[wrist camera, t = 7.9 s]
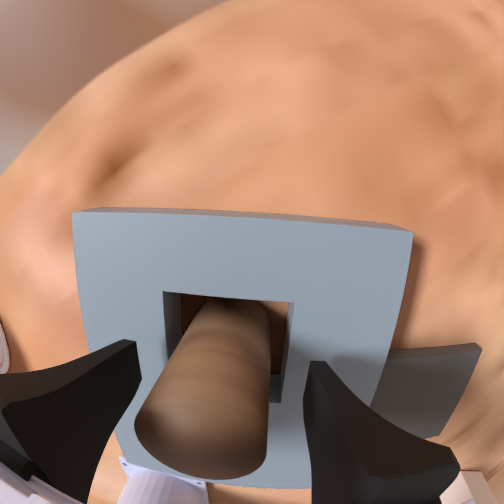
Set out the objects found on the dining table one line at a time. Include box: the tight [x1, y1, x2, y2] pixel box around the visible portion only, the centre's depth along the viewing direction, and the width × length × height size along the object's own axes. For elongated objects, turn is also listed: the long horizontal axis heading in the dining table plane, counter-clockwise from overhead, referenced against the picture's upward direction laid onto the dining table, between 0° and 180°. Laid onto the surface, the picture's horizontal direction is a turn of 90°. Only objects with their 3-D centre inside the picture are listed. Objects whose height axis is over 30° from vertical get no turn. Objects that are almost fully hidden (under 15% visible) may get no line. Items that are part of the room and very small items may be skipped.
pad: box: [369, 343, 482, 439], centre depth 14 cm, size 8×8×1 cm
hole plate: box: [72, 207, 414, 489], centre depth 14 cm, size 18×15×3 cm
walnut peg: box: [134, 296, 272, 480], centre depth 11 cm, size 4×4×8 cm
